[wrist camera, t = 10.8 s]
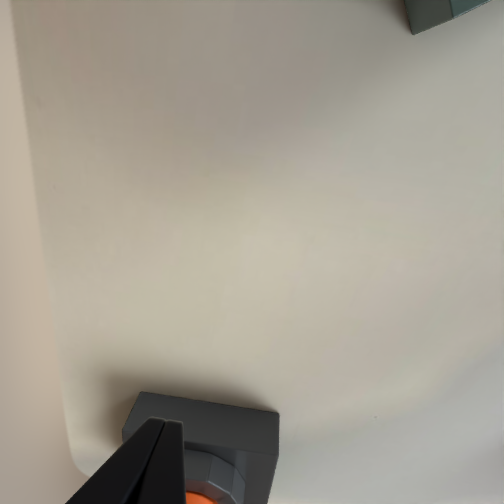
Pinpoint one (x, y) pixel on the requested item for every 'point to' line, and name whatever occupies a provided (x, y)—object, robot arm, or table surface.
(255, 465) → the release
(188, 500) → the release button
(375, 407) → the table surface
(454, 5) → the dark green flat block
